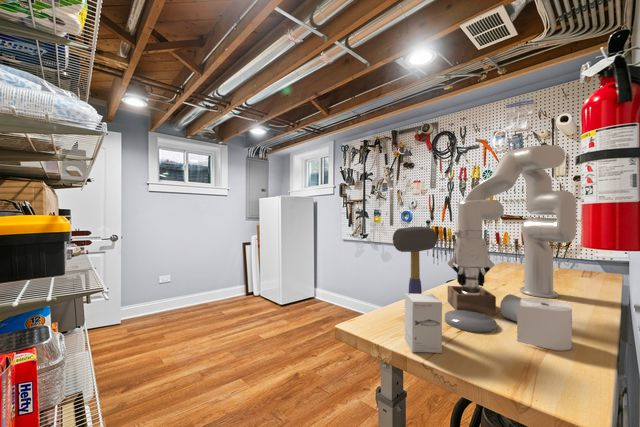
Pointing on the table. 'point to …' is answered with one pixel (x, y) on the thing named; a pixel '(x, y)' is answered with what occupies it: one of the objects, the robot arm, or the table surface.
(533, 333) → the toilet tissue
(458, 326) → the plate
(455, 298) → the holder
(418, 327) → the supplement box
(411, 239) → the rubber mallet
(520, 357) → the table surface
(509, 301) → the ceramic mug
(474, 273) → the plastic bottle
